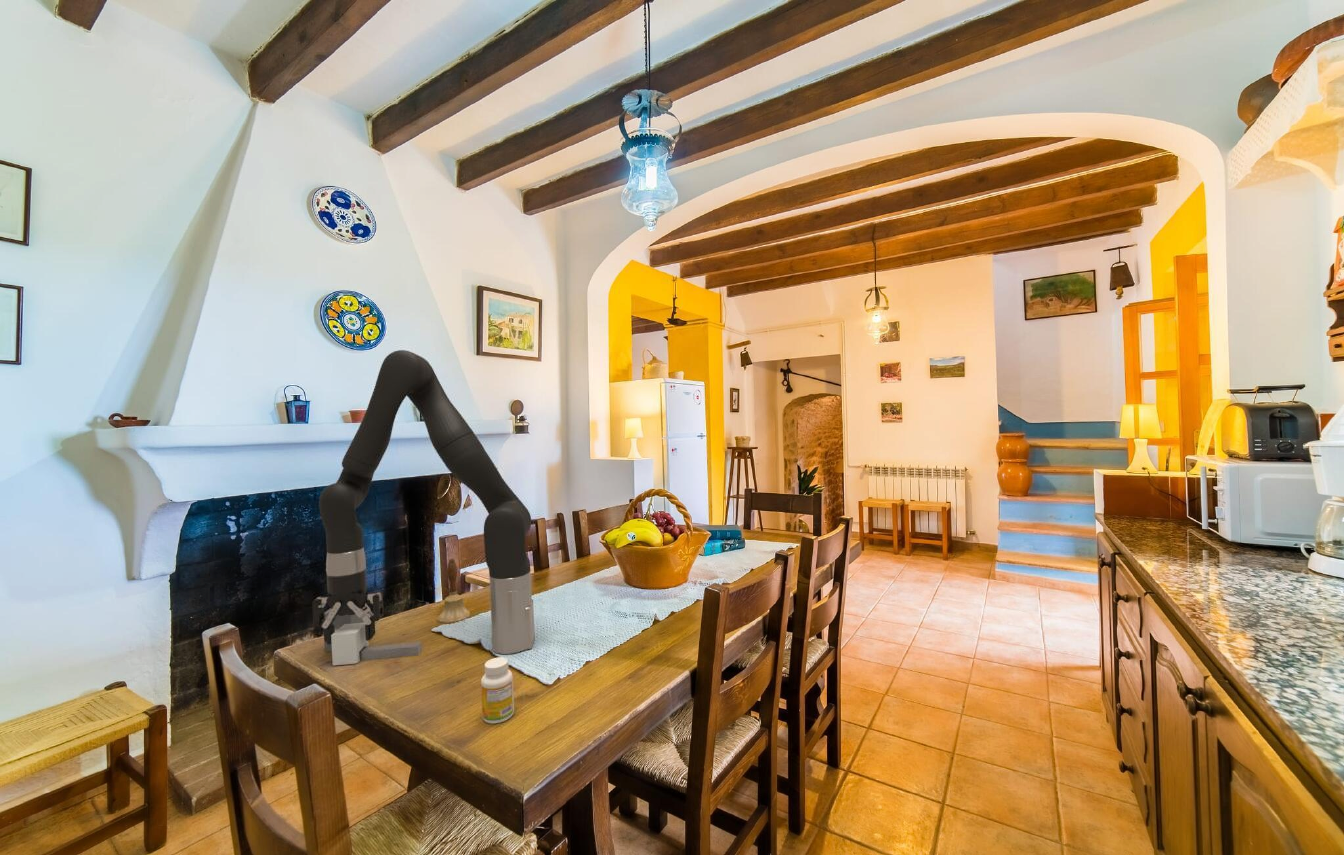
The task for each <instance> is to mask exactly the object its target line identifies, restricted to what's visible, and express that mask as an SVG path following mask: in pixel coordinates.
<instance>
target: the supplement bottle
mask: <svg viewBox="0 0 1344 855" xmlns="http://www.w3.org/2000/svg"><path fill="white" fill-rule="evenodd" d="M480 686H481V687H480V688H481V710H482V711H481V712H482V713H481V714H482V720H483V721H484V723H485V722H486V723H488V724H499V723H503V722H507V720H509V719H511V717H512V716H514V712H515V702H514V701H515V699H514V678H513V673H512V671H511V670H510V669H509V660H508V658H506V657H501V656H500V657H499V656H498V657H494V658H493V657H492V658H491V659H488V660H487V661H485V663H484V675H482V677H481V680H480Z"/></svg>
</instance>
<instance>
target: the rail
mask: <svg viewBox="0 0 1344 855" xmlns="http://www.w3.org/2000/svg"><path fill="white" fill-rule="evenodd" d="M422 644H423V643H422V641H416V642H404V643H394V644H384V645H383V644H382V645H371V646H369V647H363V648H362V649H361V650H360V651H359V659H360V661H368V660H380V659H381V660H382V659H390V658H391V659H392V658H401V657H413V656H419V655H420V654H421V652H422V651H423V647H422V646H423V645H422Z"/></svg>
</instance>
